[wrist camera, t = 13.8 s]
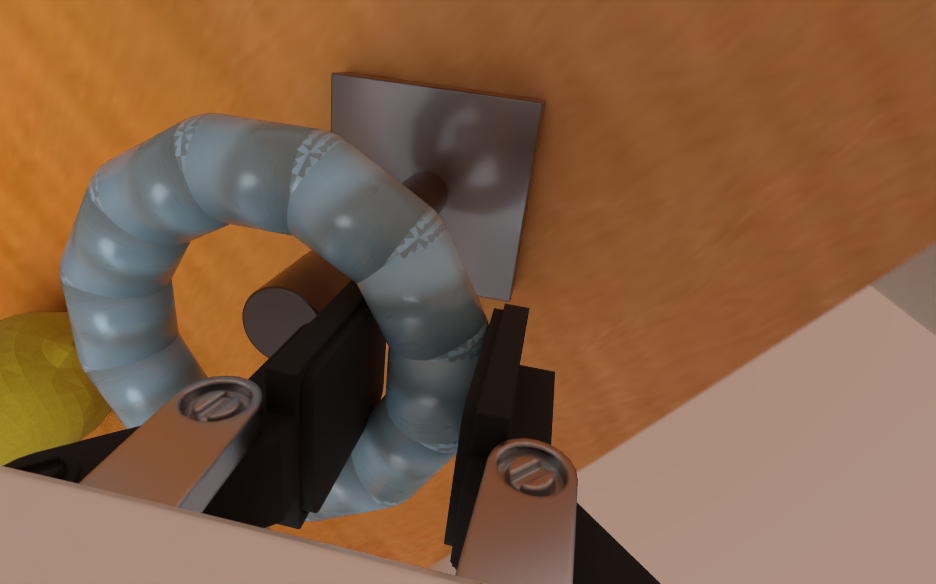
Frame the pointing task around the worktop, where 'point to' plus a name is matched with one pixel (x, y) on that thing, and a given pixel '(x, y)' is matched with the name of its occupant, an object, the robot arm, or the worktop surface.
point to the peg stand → (422, 186)
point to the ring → (321, 229)
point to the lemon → (43, 386)
